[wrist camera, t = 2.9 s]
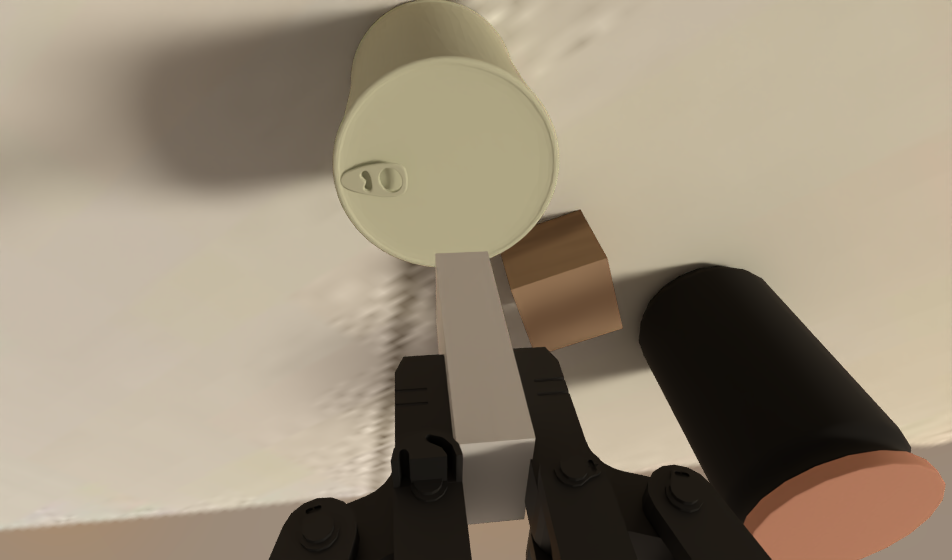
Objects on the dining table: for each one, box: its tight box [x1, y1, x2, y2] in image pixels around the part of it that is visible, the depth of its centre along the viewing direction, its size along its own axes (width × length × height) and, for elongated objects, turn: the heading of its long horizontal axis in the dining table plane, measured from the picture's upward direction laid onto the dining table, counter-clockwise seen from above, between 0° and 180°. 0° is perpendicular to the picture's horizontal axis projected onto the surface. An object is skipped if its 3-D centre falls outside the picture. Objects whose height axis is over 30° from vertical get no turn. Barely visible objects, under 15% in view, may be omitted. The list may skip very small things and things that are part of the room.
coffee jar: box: [639, 266, 945, 560], centre depth 37 cm, size 11×11×18 cm
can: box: [332, 0, 559, 267], centre depth 26 cm, size 9×9×12 cm
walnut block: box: [501, 210, 623, 352], centre depth 37 cm, size 6×6×6 cm
